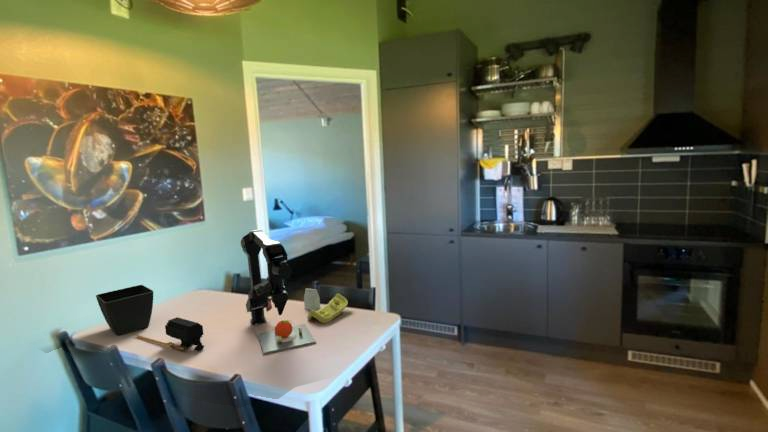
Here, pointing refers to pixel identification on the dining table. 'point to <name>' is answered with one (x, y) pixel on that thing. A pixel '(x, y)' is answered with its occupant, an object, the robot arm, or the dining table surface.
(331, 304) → the plastic component
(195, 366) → the dining table surface
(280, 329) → the clementine
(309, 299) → the tea bag
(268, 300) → the pliers
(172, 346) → the katana
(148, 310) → the flower pot
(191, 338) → the security camera
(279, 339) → the brass pins
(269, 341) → the nest plate
